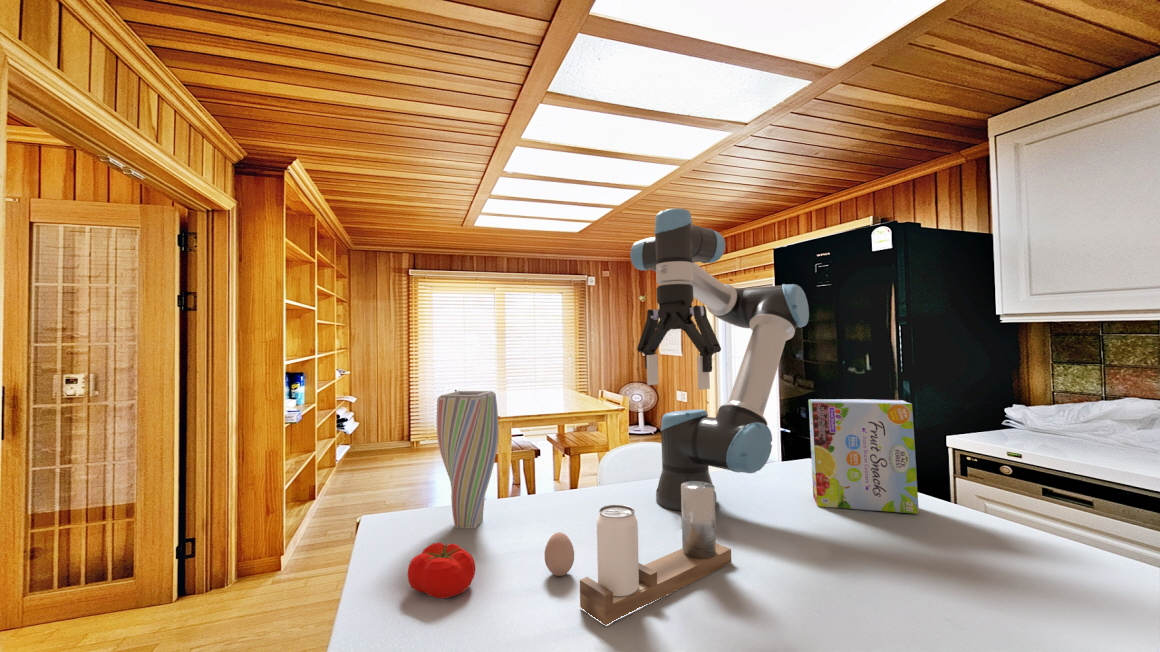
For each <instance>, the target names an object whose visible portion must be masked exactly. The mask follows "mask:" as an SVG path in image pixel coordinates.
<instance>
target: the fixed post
mask: <svg viewBox="0 0 1160 652" xmlns="http://www.w3.org/2000/svg"><path fill="white" fill-rule="evenodd" d="M712 484H713V483H712ZM712 484H710V483H706V482H700V481H689V482H684V483H682V484H681V507H682V511H681V538H682V539H681V541H682V542H681V543H682V548H683V553H684V554H685V555H686V556H688V557H690V558H694V559H701V560H705V559H711V558H713V557H715V556H716V543H717V538H716V537H717V535H716V531H717V530H716V529H717V527H716V526H717V525H716V506H715V492H716V491H715V485H714V484H713V485H712ZM682 548H681V549H682Z"/></svg>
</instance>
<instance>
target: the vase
mask: <svg viewBox="0 0 1160 652" xmlns="http://www.w3.org/2000/svg"><path fill="white" fill-rule="evenodd" d="M436 437H437V443H438V447H439V448H438V449H439V451H440V452H439V453H440V455H441V458H442V461H443V462H442V463H443V465H444V468H445V470H446V473H447V476H448V479H449V482H450V488H451V492H450V493H451V494H450V495H451V496H450V497H451V510H452V511H451V512H452V516H453V517H452V518H453V525H454V526H453V527H454V528H460V529H461V528H462V529H476V528H477V527H478V526H479V524H481V523H482V522H483V520H484V509H485V508H484V507H485V496H486V493H487V489H488V486H489V483H490V481H491V477H492V473H493V469H494V465H495V461H496V458H497V457H496V455H497V450H498V442H499V413H498V401H497V395H496V392H495V391H493V390H457V391H453V392H449V393H444V394H441V395H440V396H438V397H437V401H436Z"/></svg>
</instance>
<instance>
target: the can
mask: <svg viewBox="0 0 1160 652" xmlns="http://www.w3.org/2000/svg"><path fill="white" fill-rule="evenodd" d="M598 512H599V513H598V514H599V515H598V517H597V519H596V550H597V552H596V553H597V556H596V557H597V559H596V560H597V562H596V563H597V583H598V584H600V585H602V586H603V587H605V588H607V589H608V590H610V591H612V592H613V597H627V596H630V595H632V594H634V593H635V592H636V591H637V590H638V588H639V564H638V563H639V533H638V532H639V528H638V527H639V526H638V519H637V517H636V515H635V512H636V511H635V509H634V508H632V506H629V505H624V504H610V505H609V504H608V505H605V506H602V507H600V508H599V510H598Z"/></svg>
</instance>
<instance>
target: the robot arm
mask: <svg viewBox="0 0 1160 652" xmlns="http://www.w3.org/2000/svg"><path fill="white" fill-rule="evenodd" d="M654 219H655V221H654V223H655V224H654V231H653V232H654V237H646V238H643V239H641V240H638V241H636V242H634V243H633V244H632V246H631V249H630V254H629V256H630V261H631V264H632V265H633V266H634V268H635V269H636V270H638V271H647V272H648V271H649V270H651V271H654V272H655V273H656V275H655V277H656V278H655V279H656V284H658V286H657V287H656V291H655V292H656V303H657V304H658V307H659V308H658V309H647V311H646V321H645V324H644V327H643V330H642V333H641V336H640V339H639V342H638V344H637V348H636V350H637V352H639V353H642V354H643V355H644V368H645V370H646V379H647V380H646V384H647V386H657V385H659V362H658V361H659V359H658V358H659V355H658V354H657V352H656V351H658V348H659V347H660V345H661V343H662V342H663V340H664V339H665V337H666V335H667V334H668V332H669V331H671V330H682V331H684V332H685V334H686V335H687V337H688V339H689V340H690V341H691V342H692V344H693V345H694V347H695V348H696V349H697V351H698V352H699V354H698V355H697V356H696V357H697V359H696V360H697V361H696V363H697V367H696V368H697V390H700V391H701V390H708V389H709V390H710V389H711V388H710V387H711V384H710V382H711V381H710V373H712V370H713V355H714V354H716V353H720V352H721V351H722V346H721V345H720V343H719V340H718V338H717V336H716V334H715V331H714V330H713V327H712V325H711V323H710V321H709V318H708V315H707V311H708V312H709V313H710V314H711V315H713V316H714V317H716V318H718V319H720V320H721V321H724V322H726V323H728V324H730V325H733V326H734V327H735V326H736V327H739V328H744V329H750V330H751V331H752V332H751V336H750V338H749V341H748V344H747V346H746V350H745V352H744V355H743V358H742V361H741V364H740V367H739V369H738V373H737V375H736V378H735V380H734V384H733V387H732V389H731V393H730V395H729V399H728V402H727V403H725V404H722V405H720V406H719V407H718V410H717V413H716V416H715V417H712V416H709V414H708V410H706V409H698V408H697V409H686V410H685V409H683V410H677V411H671V412H666V413H664V414H663V415H662V417H661V423H660V424H661V428H660V433H661V434H660V435H661V437H660V438H661V439H660V440H661V441H660V442H661V463H662V465H661V474H660V477H659V481H658V485H657V488H656V492H655V501H656V503H657V504H658V505H659V506H662V507H663V508H666V509H669V510H673V511H679V512H682V507H681V484H682V483H684V482H689V481H700V482H706V483H710V484H712V485H714V484H713V482H712V481H713V480H712V478H711V475H710V470H709V467H711V468H712V467H713V468H717V469H723V470H727V471H731V472H734V473H745V474H755V473H757V472H758V471H760V470H762V469H763V468H764V467H765V465H766V464H767V463H768V460H769V458H770V456H771V452H772V448H773V445H772V442H773V435H772V431H771V429H770V428H769V427H768V421H767V419H766V418H765V416H764V414H765V410H766V407H767V404H768V401H769V397H770V394H771V390H772V387H773V384H774V380H775V377H776V374H777V371H778V367H779V364H780V361H781V357H782V354H783V351H784V348H785V344H786V341H788V340H791V339H792V338H793V337H794V336H795V333H796V329H797V328H803V327H805V326H807V324H808V323H809V318H810V311H809V308H810V307H809V303H808V299H807V297H806V296H807V295H806V293H805V292H804V290H803V288H802V287H801V286H799V284H794V283H792V284H789V283H788V284H785V283H782V285H771V286H762V287H761V286H760V287H759V286H757V287H749V288H748V287H747V288H738V287H734V286H732V285H731V284H728V283H723V282H721V281H720V280H718V279H717V278H716V277H714V276H713V275H711V274H710V273H709V272H708V271H706V270H705V269H704V268H702V267H701V266H700V265H698V264H697V263H702V264H713V263H716V262H717V261H719V260H720V259H721V258H722V257H723V255H724V253H725V250H726V241H725V238H724V236H723V235H722V234H721V233H720V232H718V231H716V230H714V229H712V228H710V227H707V228H706V227H703V226H699V225H695V224H693V219H692V214H691V212H690V211H689V209H685V208H677V207H676V208H675V207H674V208H667V209H663V210H661V211H659V212H658V213H657V214H656V215H655V218H654ZM694 300H697V301H698V302H700V303H701V304H702V305H694V306H692V305H693V304H692V303H693V302H694ZM692 317H693V318H694V321H695V322H694V321H693V319H692ZM697 327H698V329H697ZM717 502H718V501H717V492H716V491H715V507H716V506H717Z"/></svg>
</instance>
